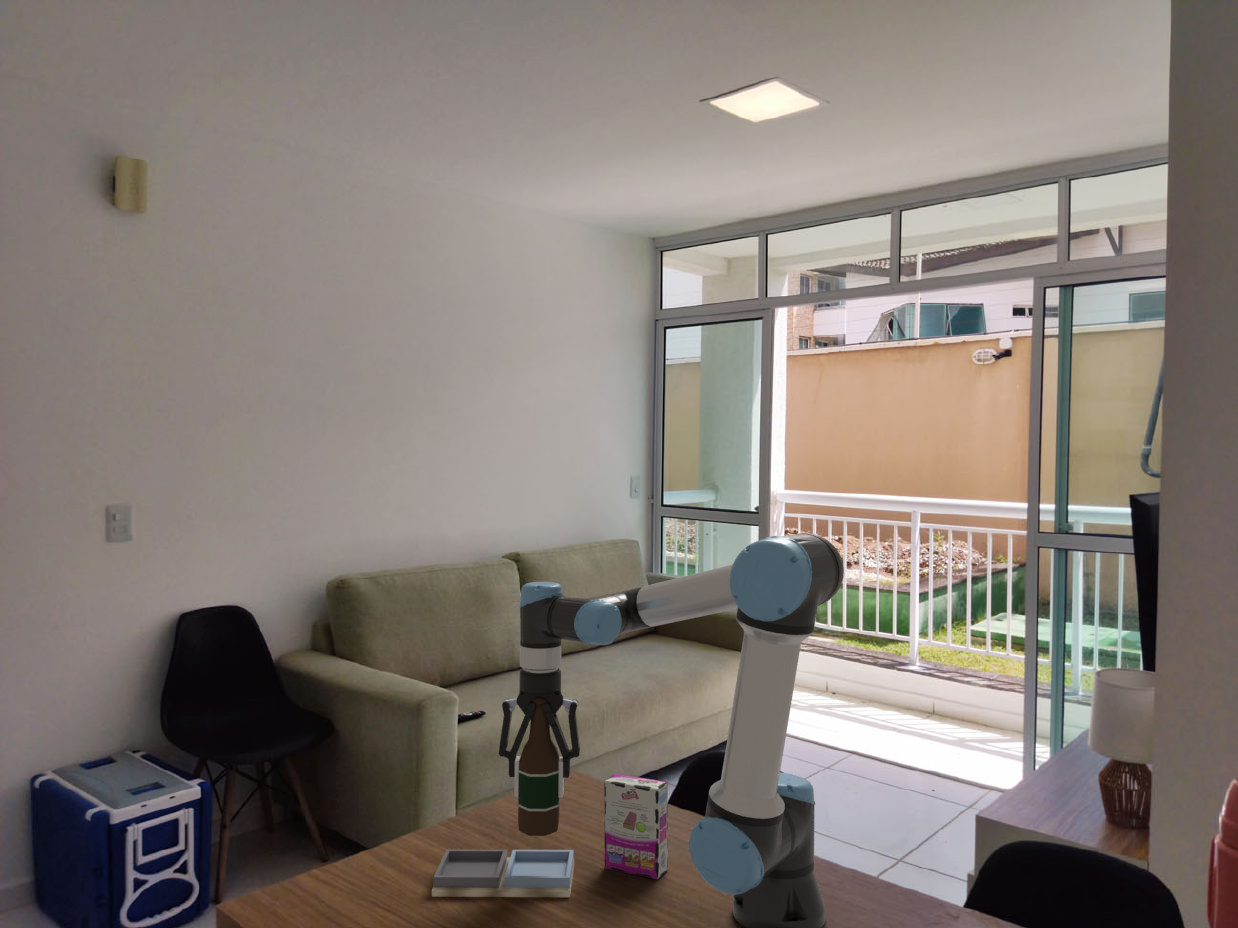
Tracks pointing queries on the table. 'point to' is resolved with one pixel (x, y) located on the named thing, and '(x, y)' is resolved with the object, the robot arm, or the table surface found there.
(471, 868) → the tray
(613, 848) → the candy bar box
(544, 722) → the beer bottle
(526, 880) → the light blue shallow tray
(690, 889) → the table surface
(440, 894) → the board
